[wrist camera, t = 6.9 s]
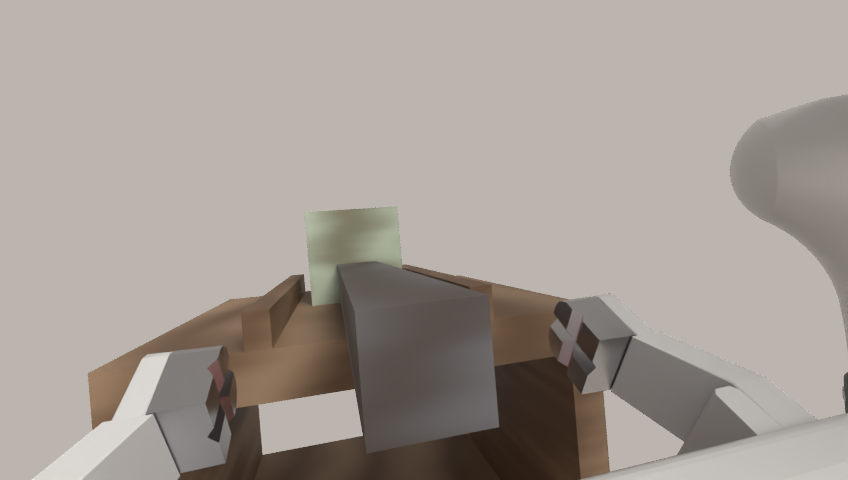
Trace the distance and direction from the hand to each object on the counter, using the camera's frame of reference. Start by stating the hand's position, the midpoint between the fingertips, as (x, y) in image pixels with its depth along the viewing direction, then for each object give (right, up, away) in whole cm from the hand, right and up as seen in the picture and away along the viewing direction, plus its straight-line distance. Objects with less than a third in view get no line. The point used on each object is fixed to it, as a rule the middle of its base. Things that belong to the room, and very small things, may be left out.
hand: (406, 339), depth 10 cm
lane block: (-2, -1, +10) cm, 11 cm away
